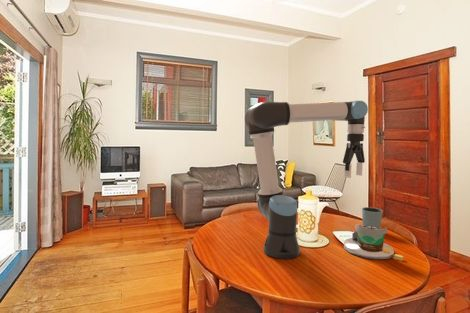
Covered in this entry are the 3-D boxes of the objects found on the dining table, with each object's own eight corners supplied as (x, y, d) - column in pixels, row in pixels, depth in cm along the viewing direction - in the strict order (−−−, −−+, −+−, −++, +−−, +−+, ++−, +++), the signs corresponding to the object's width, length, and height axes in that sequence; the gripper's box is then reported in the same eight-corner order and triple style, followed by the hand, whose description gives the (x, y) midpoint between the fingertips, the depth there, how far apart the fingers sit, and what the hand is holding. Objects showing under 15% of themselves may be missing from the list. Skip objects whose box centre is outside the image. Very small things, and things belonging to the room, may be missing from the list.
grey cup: (377, 229, 160) (378, 207, 159) (384, 235, 150) (386, 212, 149) (358, 228, 161) (359, 206, 160) (364, 233, 151) (365, 211, 150)
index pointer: (393, 258, 119) (393, 255, 119) (394, 257, 121) (395, 253, 121) (401, 260, 117) (401, 257, 117) (402, 259, 119) (403, 256, 119)
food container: (354, 250, 122) (355, 227, 120) (355, 244, 127) (355, 222, 126) (387, 255, 117) (388, 231, 116) (386, 248, 122) (387, 226, 121)
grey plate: (340, 240, 139) (340, 229, 139) (384, 244, 135) (385, 232, 135) (348, 256, 119) (349, 243, 119) (401, 261, 116) (401, 248, 115)
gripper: (352, 132, 130) (350, 179, 131) (372, 134, 148) (370, 175, 149) (336, 132, 135) (334, 177, 137) (358, 134, 153) (356, 173, 154)
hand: (353, 176), depth 143 cm, fingers open, 13 cm apart
